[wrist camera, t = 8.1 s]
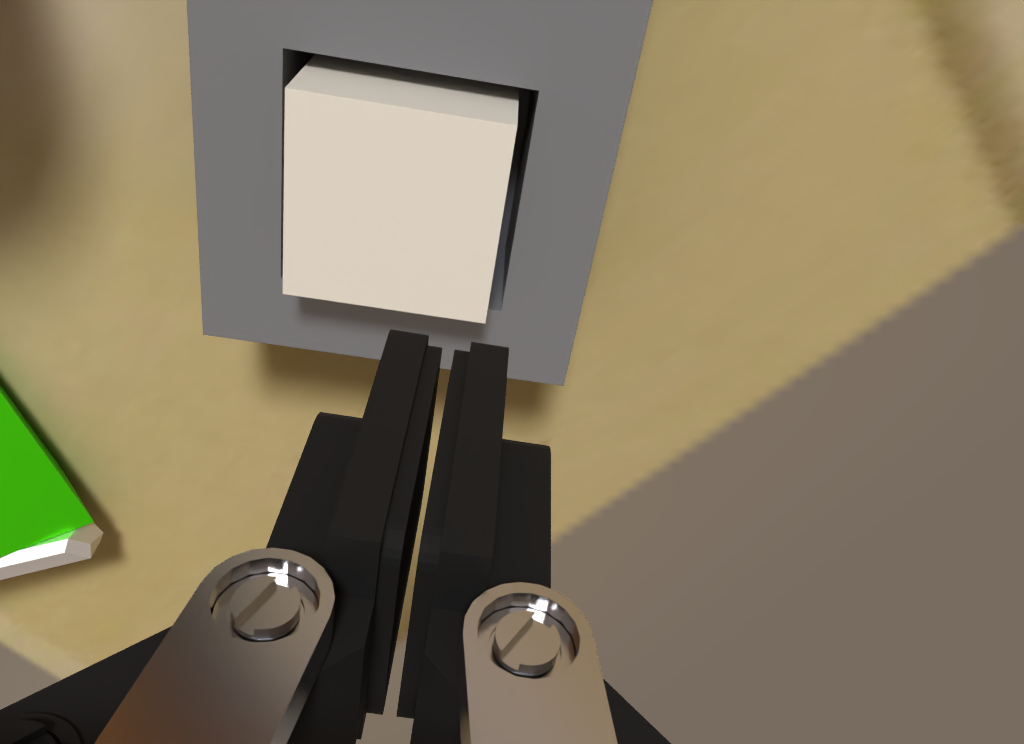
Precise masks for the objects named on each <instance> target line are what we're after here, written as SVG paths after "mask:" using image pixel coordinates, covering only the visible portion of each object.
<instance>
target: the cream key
mask: <svg viewBox="0 0 1024 744" xmlns="http://www.w3.org/2000/svg"><path fill="white" fill-rule="evenodd" d="M518 104H519V87H514V86H508V85H502V84H496V83H490V82H484V81H478V80H472V79H466V78H460V77H454V76H448V75H442V74H436V73H430V72H424V71H418V70H412V69H406V68H400V67H394V66H388V65H382V64H376V63H370V62H364V61H358V60H352V59H346V58H340V57H334V56H328V55H322V54H315V55H314V56H313V57H312V58H311V60H310V61H309V62H308V63H307V64H306V65H305V66H304V67H303V68H302V69H301V71H300V72H299V73H298V74H297V75H296V76H295V77H294V78H293V79H292V80H291V82H290V83H289V84H288V85H287V86H286V87H285V121H284V213H283V294H287V295H294V296H301V297H307V298H314V299H321V300H328V301H335V302H341V303H348V304H355V305H362V306H369V307H375V308H382V309H389V310H396V311H403V312H409V313H416V314H423V315H430V316H437V317H443V318H450V319H457V320H464V321H471V322H478V323H484V324H485V322H486V316H487V310H488V304H489V298H490V292H491V285H492V279H493V273H494V267H495V261H496V255H497V249H498V242H499V236H500V230H501V224H502V218H503V212H504V205H505V199H506V193H507V187H508V181H509V175H510V169H511V162H512V156H513V150H514V144H515V138H516V132H517V125H518Z"/></svg>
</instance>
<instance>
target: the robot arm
mask: <svg viewBox="0 0 1024 744" xmlns="http://www.w3.org/2000/svg"><path fill="white" fill-rule="evenodd" d="M428 342H429V335H425V334H419V333H412V332H406V331H399V330H393V329H390V331H389V333H388V337H387V340H386V343H385V347H384V350H383V353H382V356H381V360H380V363H379V366H378V370H377V373H376V376H375V379H374V383H373V386H372V389H371V392H370V396H369V399H368V402H367V406H366V409H365V412H364V415H363V418H357V417H350V416H343V415H337V414H330V413H323V412H320V413H319V414H318V415H317V417H316V419H315V421H314V424H313V426H312V429H311V431H310V434H309V437H308V439H307V442H306V445H305V447H304V450H303V453H302V455H301V458H300V460H299V463H298V466H297V468H296V471H295V474H294V476H293V479H292V481H291V484H290V487H289V489H288V492H287V495H286V497H285V500H284V502H283V505H282V508H281V510H280V513H279V516H278V518H277V521H276V523H275V526H274V529H273V531H272V534H271V537H270V539H269V542H268V544H267V547H266V548H264V549H254V550H250V551H247V552H244V553H240V554H237V555H234V556H232V557H230V558H229V559H227V560H225V561H224V562H222V563H221V564H219V565H217V566H216V567H214V569H213V570H212V571H211V572H210V573H209V574H208V575H207V576H206V577H205V578H204V579H203V581H202V582H201V583H200V585H199V586H198V588H197V589H196V591H195V592H194V594H193V595H192V597H191V598H190V600H189V602H188V603H187V605H186V606H185V608H184V609H183V611H182V612H181V614H180V615H179V617H178V618H177V620H176V621H175V623H174V624H173V626H171V627H169V628H167V629H165V630H163V631H161V632H159V633H157V634H155V635H153V636H151V637H149V638H147V639H145V640H143V641H140V642H138V643H136V644H134V645H132V646H130V647H128V648H126V649H124V650H122V651H120V652H118V653H116V654H114V655H112V656H110V657H108V658H106V659H104V660H102V661H99V662H97V663H95V664H93V665H91V666H89V667H87V668H85V669H83V670H81V671H79V672H77V673H75V674H73V675H71V676H69V677H67V678H65V679H63V680H61V681H59V682H56V683H55V684H52V685H51V686H48V687H46V688H44V689H42V690H40V691H38V692H36V693H34V694H32V695H30V696H28V697H26V698H24V699H22V700H20V701H18V702H16V703H13V704H11V705H9V706H7V707H5V708H3V709H1V710H0V744H355V743H356V739H361V736H362V732H363V727H364V722H365V717H366V713H374V714H383V711H384V706H385V700H386V695H387V690H388V684H389V678H390V673H391V668H392V663H393V657H394V652H395V646H396V641H397V635H398V630H399V625H400V619H401V614H402V608H403V603H404V597H405V592H406V587H407V581H408V576H409V570H410V565H411V559H412V554H413V549H414V543H415V538H416V532H417V527H418V521H419V516H420V510H421V504H422V498H423V491H424V484H425V476H426V469H427V461H428V454H429V446H430V439H431V431H432V423H433V416H434V408H435V401H436V393H437V386H438V378H439V371H440V363H441V356H442V347H436V346H429V345H428ZM508 357H509V347H503V346H496V345H490V344H483V343H477V342H471V346H470V352H468V351H462V350H454V355H453V361H452V366H451V372H450V378H449V383H448V389H447V395H446V400H445V406H444V412H443V417H442V423H441V429H440V434H439V440H438V446H437V452H436V457H435V463H434V469H433V474H432V480H431V486H430V491H429V497H428V503H427V508H426V514H425V520H424V525H423V531H422V537H421V543H420V550H419V556H418V563H417V570H416V577H415V585H414V592H413V599H412V607H411V614H410V621H409V629H408V636H407V643H406V651H405V658H404V666H403V673H402V680H401V688H400V695H399V703H398V710H397V717H405V718H413V719H414V722H413V729H412V735H411V742H410V744H671V743H670V742H669V741H668V740H667V739H666V738H664V737H663V736H662V735H661V734H660V733H659V732H658V731H657V730H656V729H655V728H654V727H653V726H652V725H651V724H650V723H649V722H648V721H647V720H646V719H645V718H644V717H643V716H641V715H640V714H639V713H638V712H637V711H636V710H635V709H634V708H633V707H632V706H631V705H630V704H629V703H628V702H627V701H626V700H625V699H624V698H623V697H622V696H621V695H620V694H619V693H618V692H617V691H615V690H614V689H613V688H612V687H611V686H610V685H609V684H608V683H607V682H606V681H605V680H604V679H603V677H602V673H601V668H600V663H599V659H598V654H597V650H596V645H595V641H594V636H593V633H592V631H591V628H590V626H589V623H588V621H587V618H586V617H585V616H584V615H583V613H582V612H581V611H580V610H579V608H578V607H577V606H576V605H575V604H574V603H573V602H572V601H570V600H569V599H568V598H566V597H565V596H563V595H562V594H561V593H559V592H557V591H555V590H552V589H551V450H550V447H549V446H546V445H539V444H532V443H526V442H519V441H512V440H505V439H502V434H503V421H504V408H505V395H506V383H507V370H508Z"/></svg>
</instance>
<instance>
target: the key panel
mask: <svg viewBox="0 0 1024 744" xmlns="http://www.w3.org/2000/svg"><path fill="white" fill-rule="evenodd" d="M652 1H653V0H187V13H188V34H189V54H190V75H191V95H192V116H193V137H194V157H195V178H196V198H197V219H198V239H199V260H200V280H201V301H202V321H203V335H210V336H217V337H224V338H231V339H238V340H245V341H252V342H259V343H266V344H273V345H280V346H287V347H294V348H301V349H308V350H315V351H322V352H329V353H336V354H343V355H350V356H357V357H364V358H371V359H378V360H381V356H382V353H383V350H384V347H385V343H386V340H387V337H388V333H389V331H390V329H393V330H399V331H406V332H412V333H419V334H425V335H429V342H428V345H429V346H436V347H442V356H441V363H440V368H441V369H448V370H451V366H452V361H453V355H454V350H462V351H468V352H470V346H471V342H477V343H483V344H490V345H496V346H503V347H509V357H508V370H507V378H511V379H519V380H526V381H533V382H540V383H547V384H554V385H561V386H564V381H565V377H566V373H567V368H568V364H569V360H570V355H571V351H572V347H573V342H574V338H575V334H576V329H577V325H578V321H579V316H580V312H581V308H582V304H583V299H584V295H585V291H586V286H587V282H588V278H589V273H590V269H591V265H592V260H593V256H594V252H595V247H596V243H597V239H598V234H599V230H600V226H601V222H602V217H603V213H604V209H605V204H606V200H607V196H608V191H609V187H610V183H611V178H612V174H613V170H614V165H615V161H616V157H617V152H618V148H619V144H620V140H621V135H622V131H623V127H624V122H625V118H626V114H627V109H628V105H629V101H630V96H631V92H632V88H633V83H634V79H635V75H636V70H637V66H638V62H639V58H640V53H641V49H642V45H643V40H644V36H645V32H646V27H647V23H648V19H649V14H650V10H651V6H652ZM315 54H322V55H328V56H334V57H340V58H346V59H352V60H358V61H364V62H370V63H376V64H382V65H388V66H394V67H400V68H406V69H412V70H418V71H424V72H430V73H436V74H442V75H448V76H454V77H460V78H466V79H472V80H478V81H484V82H490V83H496V84H502V85H508V86H514V87H519V104H518V125H517V132H516V138H515V144H514V150H513V156H512V162H511V169H510V175H509V181H508V187H507V193H506V199H505V205H504V212H503V218H502V224H501V230H500V236H499V242H498V249H497V255H496V261H495V267H494V273H493V279H492V285H491V292H490V298H489V304H488V310H487V316H486V322H485V324H484V323H478V322H471V321H464V320H457V319H450V318H443V317H437V316H430V315H423V314H416V313H409V312H403V311H396V310H389V309H382V308H375V307H369V306H362V305H355V304H348V303H341V302H335V301H328V300H321V299H314V298H307V297H301V296H294V295H287V294H283V213H284V121H285V87H286V86H287V85H288V84H289V83H290V82H291V80H292V79H293V78H294V77H295V76H296V75H297V74H298V73H299V72H300V71H301V69H302V68H303V67H304V66H305V65H306V64H307V63H308V62H309V61H310V60H311V58H312V57H313V56H314V55H315Z"/></svg>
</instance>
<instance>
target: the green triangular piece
mask: <svg viewBox="0 0 1024 744" xmlns="http://www.w3.org/2000/svg"><path fill="white" fill-rule="evenodd" d="M102 535H103V532H102V531H101V530H100V529H99V528H98V527H97V526H96V525H95V524H94V521H93V519H92V518H91V516H90V514H89V513H88V511H87V509H86V508H85V506H84V504H83V503H82V501H81V499H80V498H79V496H78V495H77V493H76V491H75V490H74V488H73V486H72V485H71V483H70V481H69V480H68V478H67V476H66V475H65V473H64V471H63V470H62V468H61V467H60V465H59V464H58V463H57V461H56V460H55V459H54V457H53V456H52V455H51V453H50V452H49V450H48V449H47V448H46V446H45V445H44V444H43V442H42V441H41V440H40V438H39V437H38V436H37V434H36V433H35V431H34V430H33V429H32V427H31V426H30V425H29V423H28V422H27V421H26V419H25V418H24V416H23V415H22V414H21V412H20V411H19V410H18V408H17V407H16V406H15V404H14V403H13V401H12V400H11V399H10V397H9V396H8V395H7V393H6V392H5V391H4V389H3V388H2V387H1V385H0V580H2V579H7V578H11V577H15V576H19V575H23V574H27V573H32V572H36V571H40V570H44V569H48V568H53V567H57V566H61V565H65V564H69V563H73V562H78V561H82V560H86V559H90V558H91V557H92V556H93V554H94V552H95V550H96V548H97V546H98V545H99V543H100V541H101V538H102Z"/></svg>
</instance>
